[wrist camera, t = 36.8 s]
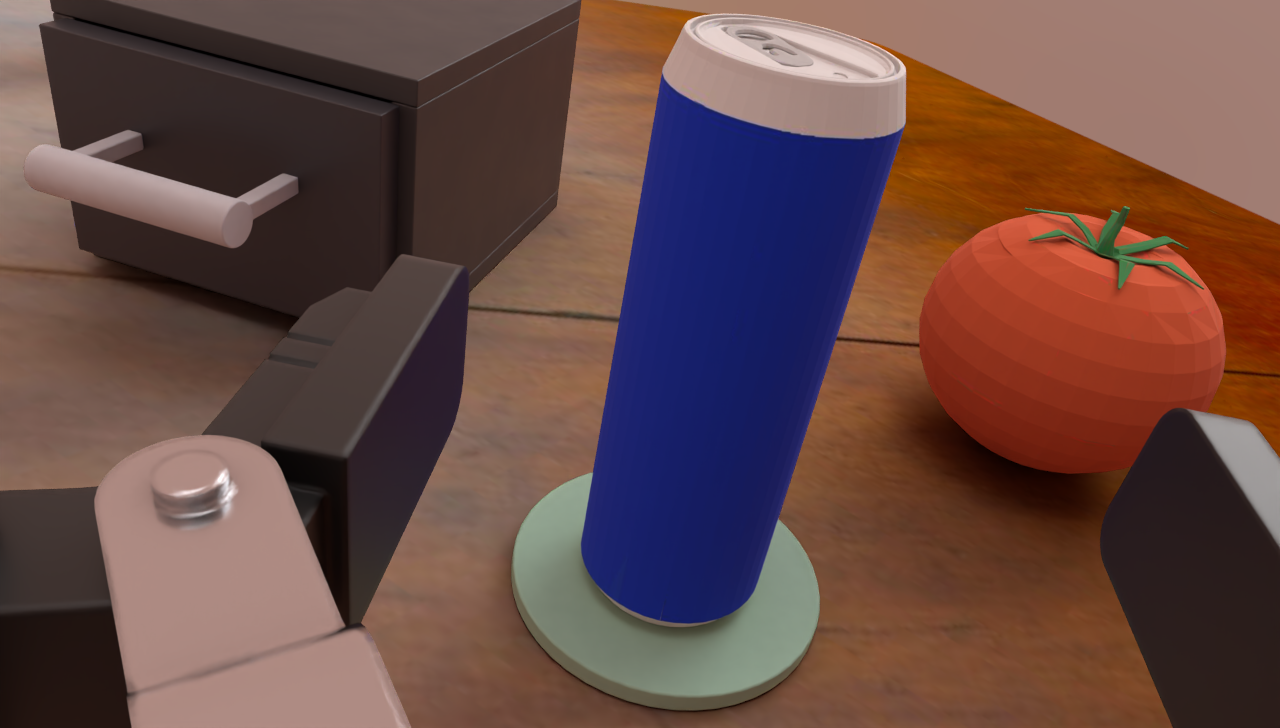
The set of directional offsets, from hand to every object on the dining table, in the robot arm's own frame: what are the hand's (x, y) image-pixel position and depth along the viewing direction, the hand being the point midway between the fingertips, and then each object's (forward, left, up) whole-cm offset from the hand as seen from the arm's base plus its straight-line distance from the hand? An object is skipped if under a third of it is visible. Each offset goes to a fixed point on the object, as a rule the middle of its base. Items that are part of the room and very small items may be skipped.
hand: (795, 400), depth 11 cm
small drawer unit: (+16, -29, -14) cm, 36 cm away
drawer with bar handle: (+17, -25, -13) cm, 33 cm away
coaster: (0, -11, -14) cm, 18 cm away
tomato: (-13, -22, -14) cm, 29 cm away
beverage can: (0, -11, -14) cm, 17 cm away
